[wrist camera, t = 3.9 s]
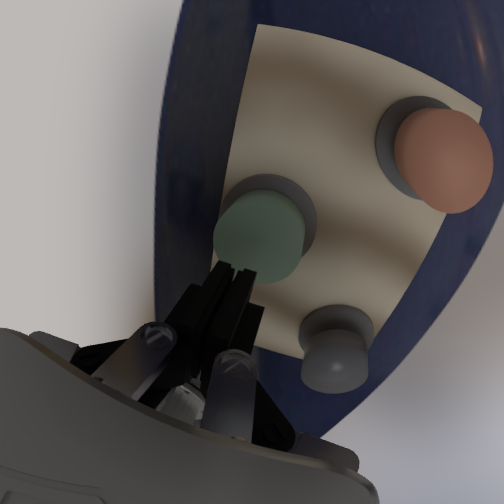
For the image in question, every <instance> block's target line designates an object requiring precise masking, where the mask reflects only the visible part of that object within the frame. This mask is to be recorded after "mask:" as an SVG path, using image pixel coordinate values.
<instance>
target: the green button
mask: <svg viewBox="0 0 504 504" xmlns="http://www.w3.org/2000/svg"><path fill="white" fill-rule="evenodd" d="M304 237H305V222H304V218H303V215H302V213H301V211H300V210H299V208H298V207H297V206H296V204H295V203H294V202H293V201H292V200H290V199H289V198H288V197H286V196H285V195H283V194H281V193H279V192H276V191H272V190H265V189H261V190H253V191H250V192H247V193H245V194H243V195H242V196H240V197H239V198H238V199H237V200H236V201H235V202H234V203H233V204H232V205H231V206H230V207H229V208H228V210H227V211H226V212H225V213H224V214H223V215H222V217H221V218H220V219H219V220H218V222H217V224H216V226H215V229H214V233H213V245H214V249H215V252H216V255H217V257H218V259H219V260H220V261H224V262H227V263H230V264H231V268H234V269H235V273H234V276H236V274H237V272H238V270H241V271H243V270H244V268H246V269H249V270H252V271H256V272H257V275H256V279H255V282H254V283H255V284H271V283H275V282H278V281H281V280H283V279H285V278H286V277H288V276H289V275H290V274H291V273H292V272H293V271H294V270H295V269H296V267H297V266H298V264H299V261H300V258H301V254H302V249H303V243H304Z"/></svg>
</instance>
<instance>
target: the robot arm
mask: <svg viewBox="0 0 504 504" xmlns="http://www.w3.org/2000/svg"><path fill="white" fill-rule="evenodd" d="M234 273H235V269H234V268H231V264H230V263H227V262H224V261H220V260H218V262H217V263H216V265H215V266H214V268H213V269H212V271H211V272H210V274H209V275H208V277H207V278H206V280H205V281H204V283H203V284H202V286H199V285H196V284H193V283H192V284H191V285H190V286H189V287H188V288H187V290H186V291H185V293H184V294H183V295H182V297H181V298H180V300H179V301H178V303H177V304H176V305H175V307H174V308H173V310H172V311H171V313H170V314H169V315H168V317H167V318H166V320H165V321H164V323H163V322H157V321H156V322H149V323H146V324H144V325H143V326H141V327H140V328H139V329H138V330H137V331H136V332H135V333H134V334H133V335H132V336H131V337H130V338H128V339H123V340H118V341H113V342H107V343H103V344H97V345H90V346H86V347H83V348H80V347H79V345H78V344H75V343H73V342H70V341H67V340H64V339H61V338H58V337H55V336H53V335H50V334H47V333H45V332H41V331H37V332H33V333H31V334H30V335H29V336H28V335H26V334H23V333H21V332H18V331H15V330H11V329H7V328H0V504H379V497H378V493H377V490H376V489H375V487H374V485H373V484H372V483H371V482H370V481H369V480H368V479H366V478H365V477H363V476H362V475H360V474H358V473H357V472H358V469H359V459H358V456H357V455H356V454H355V453H354V452H353V451H352V450H350V449H348V448H344V447H342V446H339V445H336V444H334V443H331V442H328V441H326V440H323V439H320V438H318V437H315V436H313V435H310V434H308V433H306V432H304V433H303V434H302V433H300V432H297V431H295V430H294V429H293V427H292V425H291V424H290V423H289V422H288V420H287V419H286V418H285V416H284V415H283V414H282V412H281V411H280V410H279V409H278V407H277V406H276V405H275V403H274V402H273V401H272V399H271V398H270V397H269V395H268V394H267V393H266V391H265V390H264V388H263V387H262V386H261V384H260V383H259V382H258V380H257V364H256V362H255V360H254V359H253V358H252V357H251V356H250V355H251V352H252V349H253V345H254V342H255V339H256V336H257V332H258V329H259V326H260V323H261V319H262V316H263V313H264V309H265V307H263V306H260V305H257V304H253V303H250V302H249V301H250V297H251V293H252V290H253V286H254V282H255V279H256V275H257V272H256V271H252V270H249V269H246V268H244V270H243V271H241V270H238V272H237V274H236V276H235V278H234ZM233 278H234V280H233ZM200 371H201V377H200V381H201V386H200V391H198V390H197V389H196V388H194V387H193V386H192V385H190V384H189V383H190V381H191V379H192V378H195V379H197V377H198V375H199V373H200ZM195 419H202V420H201V425H200V428H199V427H196V426H194V425H193V423H194V421H195Z"/></svg>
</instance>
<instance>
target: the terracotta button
mask: <svg viewBox="0 0 504 504" xmlns="http://www.w3.org/2000/svg"><path fill="white" fill-rule="evenodd" d="M394 155H395V161H396V165H397V168H398V170H399V172H400V174H401V176H402V178H403V179H404V181H405V182H406V183H407V184H408V185H409V186H410V187H411V188H412V189H413V190H414V191H415V193H416V194H417V195H418V196H419V197H420V198H421V199H422V200H423V201H424V202H425V203H426V204H427V205H429V206H430V207H431V208H433V209H435V210H437V211H440V212H444V213H459V212H463V211H465V210H468V209H469V208H471V207H473V206H474V205H475V204H477V203H478V202H479V200H480V199H481V198H482V197H483V196H484V194H485V192H486V191H487V189H488V186H489V184H490V181H491V177H492V172H493V155H492V150H491V146H490V143H489V140H488V138H487V136H486V134H485V132H484V131H483V129H482V128H481V126H480V125H479V124H478V123H477V122H476V121H475V120H474V119H473V118H471V117H470V116H469V115H467V114H465V113H463V112H460V111H457V110H451V109H440V108H424V109H420V110H417V111H415V112H413V113H412V114H410V115H409V116H408V117H407V118H406V119H405V120H404V121H403V123H402V124H401V126H400V127H399V129H398V132H397V134H396V138H395V144H394Z"/></svg>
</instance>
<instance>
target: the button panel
mask: <svg viewBox="0 0 504 504" xmlns="http://www.w3.org/2000/svg"><path fill="white" fill-rule="evenodd" d="M424 108H440V109H451V110H457V111H460V112H463V113H465V114H467V115H469V116H470V117H471V118H473V119H474V120H475V121H476V122H477V123H478V124H479V120H480V116H481V112H482V108H481V107H480V106H478V105H477V104H476V103H474V102H472V101H471V100H469V99H468V98H466V97H465V96H463V95H462V94H460V93H458V92H457V91H455V90H453V89H452V88H450V87H448V86H446V85H445V84H443V83H441V82H439V81H437V80H435V79H434V78H432V77H430V76H428V75H426V74H424V73H422V72H420V71H418V70H416V69H413V68H411V67H409V66H407V65H405V64H402V63H400V62H398V61H396V60H393V59H391V58H388V57H386V56H383V55H381V54H378V53H375V52H373V51H370V50H367V49H364V48H361V47H358V46H355V45H352V44H349V43H346V42H342V41H339V40H335V39H332V38H328V37H324V36H320V35H316V34H312V33H307V32H303V31H298V30H293V29H287V28H281V27H275V26H268V25H261V24H258V26H257V30H256V34H255V38H254V42H253V46H252V51H251V55H250V59H249V63H248V68H247V72H246V77H245V81H244V86H243V90H242V95H241V100H240V104H239V109H238V114H237V119H236V124H235V129H234V134H233V139H232V144H231V149H230V155H229V160H228V166H227V171H226V177H225V182H224V188H223V194H222V200H221V206H220V212H219V218H218V220H219V219H220V218H221V217H222V215H223V214H224V213H225V212H226V211H227V210H228V208H229V207H230V206H231V205H232V204H233V203H234V202H235V201H236V200H237V199H238V198H239V197H240V196H242V195H243V194H245V193H247V192H250V191H253V190H261V189H265V190H272V191H276V192H279V193H281V194H283V195H285V196H286V197H288V198H289V199H290V200H292V201H293V202H294V203H295V204H296V206H297V207H298V208H299V210H300V211H301V213H302V215H303V218H304V222H305V237H304V243H303V249H302V254H301V258H300V261H299V264H298V266H297V267H296V269H295V270H294V271H293V272H292V273H291V274H290V275H289V276H288V277H286V278H285V279H283V280H281V281H278V282H275V283H271V284H255V283H254V286H253V290H252V293H251V297H250V301H249V302H250V303H253V304H257V305H260V306H263V307H265V309H264V313H263V316H262V319H261V323H260V326H259V329H258V332H257V336H256V339H255V342H254V345H255V346H259V347H262V348H265V349H268V350H272V351H275V352H278V353H282V354H285V355H289V356H292V357H296V358H300V359H303V357H304V351H305V346H306V343H307V342H308V341H309V339H310V338H312V337H313V336H314V335H316V334H318V333H320V332H323V331H327V330H334V329H342V330H348V331H351V332H354V333H356V334H358V335H360V336H361V337H362V338H363V339H364V341H365V342H366V345H367V350H368V349H369V348H370V347H371V345H372V343H373V340H374V337H375V336H376V335H377V333H378V332H379V330H380V329H381V328H382V326H383V325H384V323H385V322H386V320H387V319H388V317H389V316H390V314H391V313H392V311H393V310H394V308H395V307H396V305H397V304H398V302H399V301H400V299H401V297H402V296H403V294H404V293H405V291H406V289H407V288H408V286H409V284H410V283H411V281H412V279H413V278H414V276H415V274H416V272H417V271H418V269H419V267H420V265H421V264H422V262H423V260H424V258H425V256H426V254H427V252H428V251H429V249H430V247H431V245H432V243H433V241H434V239H435V237H436V235H437V233H438V231H439V229H440V226H441V224H442V222H443V220H444V218H445V216H446V213H444V212H440V211H437V210H435V209H433V208H431V207H430V206H429V205H427V204H426V203H425V202H424V201H423V200H422V199H421V198H420V197H419V196H418V195H417V194H416V193H415V191H414V190H413V189H412V188H411V187H410V186H409V185H408V184H407V183H406V182H405V181H404V179H403V178H402V176H401V174H400V172H399V170H398V168H397V165H396V161H395V155H394V144H395V138H396V134H397V132H398V129H399V127H400V126H401V124H402V123H403V121H404V120H405V119H406V118H407V117H408V116H409V115H410V114H412V113H413V112H415V111H417V110H420V109H424ZM218 260H219V259H218V257H217V255H216V252H215V249H214V250H213V257H212V263H211V270H210V272H211V271H212V269H213V268H214V266H215V265H216V263H217V262H218ZM234 278H235V276H234ZM234 278H233V280H234Z"/></svg>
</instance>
